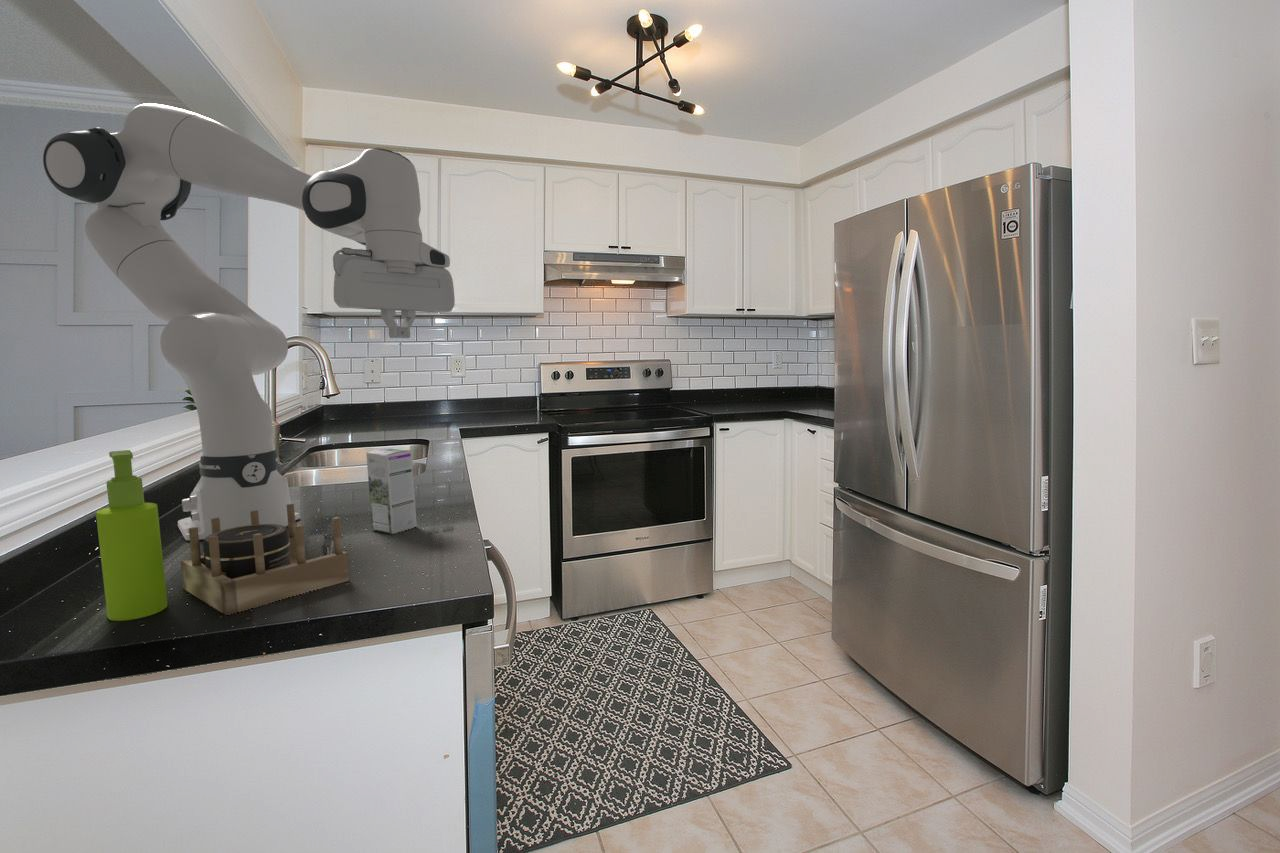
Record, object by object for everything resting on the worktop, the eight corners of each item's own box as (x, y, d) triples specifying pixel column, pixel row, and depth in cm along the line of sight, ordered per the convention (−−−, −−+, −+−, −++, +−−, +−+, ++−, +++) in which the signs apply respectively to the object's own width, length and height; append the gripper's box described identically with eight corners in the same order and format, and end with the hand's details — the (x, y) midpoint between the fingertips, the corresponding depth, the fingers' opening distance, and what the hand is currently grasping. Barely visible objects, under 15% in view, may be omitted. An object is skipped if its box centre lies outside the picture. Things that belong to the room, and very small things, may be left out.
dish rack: (183, 588, 87) (177, 524, 86) (299, 560, 99) (294, 502, 98) (227, 615, 78) (220, 543, 77) (349, 580, 90) (344, 517, 89)
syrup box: (418, 527, 117) (413, 448, 116) (390, 535, 112) (386, 453, 111) (397, 523, 120) (393, 446, 119) (370, 531, 115) (364, 451, 114)
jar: (188, 600, 83) (182, 543, 82) (240, 574, 93) (236, 523, 92) (263, 601, 82) (258, 543, 82) (307, 574, 92) (303, 522, 92)
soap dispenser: (162, 596, 84) (147, 446, 82) (170, 611, 79) (154, 451, 77) (105, 609, 80) (87, 451, 78) (109, 625, 75) (91, 457, 73)
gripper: (342, 243, 96) (348, 336, 97) (457, 258, 112) (461, 338, 113) (322, 248, 100) (328, 337, 101) (436, 261, 116) (440, 339, 117)
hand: (399, 338), depth 107 cm, fingers closed
